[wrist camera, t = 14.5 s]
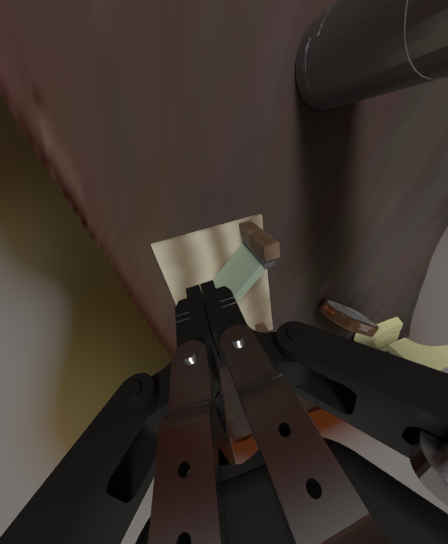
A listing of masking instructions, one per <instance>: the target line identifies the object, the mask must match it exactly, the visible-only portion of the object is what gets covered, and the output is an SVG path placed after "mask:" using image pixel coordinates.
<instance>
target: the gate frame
mask: <svg viewBox="0 0 448 544" xmlns="http://www.w3.org/2000/svg"><path fill="white" fill-rule="evenodd" d="M244 239H245V240H246V242H247V243H248V244H249V245H250V246H251V247H252V248H253V249H254V250H255V251H256V252H257V253H258V255H259V256H260V257H261V258H262V259H263V260H264V261H265V262H266V261H269V260H272V259H276V258H279V257H280V249H279V242H278V241H276V240H275V239H274V238H272V237H271V236H270V235H269V234H267V233H266V232H265V231H264V230H263V222H262V215H261V214H258V215H254V216H250V217H247V218H243V219H239V220H236V221H232V222H229V223H225V224H221V225H218V226H214V227H210V228H207V229H203V230H200V231H196V232H192V233H189V234H185V235H181V236H178V237H174V238H170V239H167V240H163V241H160V242H156V243H152V244H151V246H152V249H153V251H154V254H155V256H156V258H157V261H158V263H159V265H160V268H161V270H162V273H163V275H164V277H165V280H166V282H167V284H168V287H169V289H170V291H171V294H172V296H173V299H174V301H175V303H176V305H177V303H178V301H179V300H182V299H185V298H187V295H186V288H189V287H192V286H195V285H198V284H199V286H200V284H201V283H204V282H207V281H211V280H214V278H215V277H216V276H217V274H218V273H219V272H220V271H221V269H222V268H223V267H224V265H225V264H226V263H227V262H228V260H229V259H230V258H231V257H232V255H233V254H234V253H235V251H236V250H237V249H238V248H239V246H240V245H241V244H242V243H243V240H244ZM243 244H244V243H243ZM200 289H201V287H200ZM237 304H238V306H239V308H240V310H241V312H242V314H243V317H244V319H245V321H246V323H247V325H248V326H249V327H250V328H251V329H253V330H255V331H258V332H263V333H267V332H269V330H272V329H273V326H272V315H271V305H270V295H269V284H268V274H267V269H266V270H265V271H264V273H263V274H262V275H261V276H260V277H259V278H258V280H257V281H256V282H255V283H254V284H253V285H252V287H251V288H250V289H249V290H248V291H247V292H246V294H245V295H244V296H243V297H242V298H241V299H240V301H239V302H238V303H237Z"/></svg>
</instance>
